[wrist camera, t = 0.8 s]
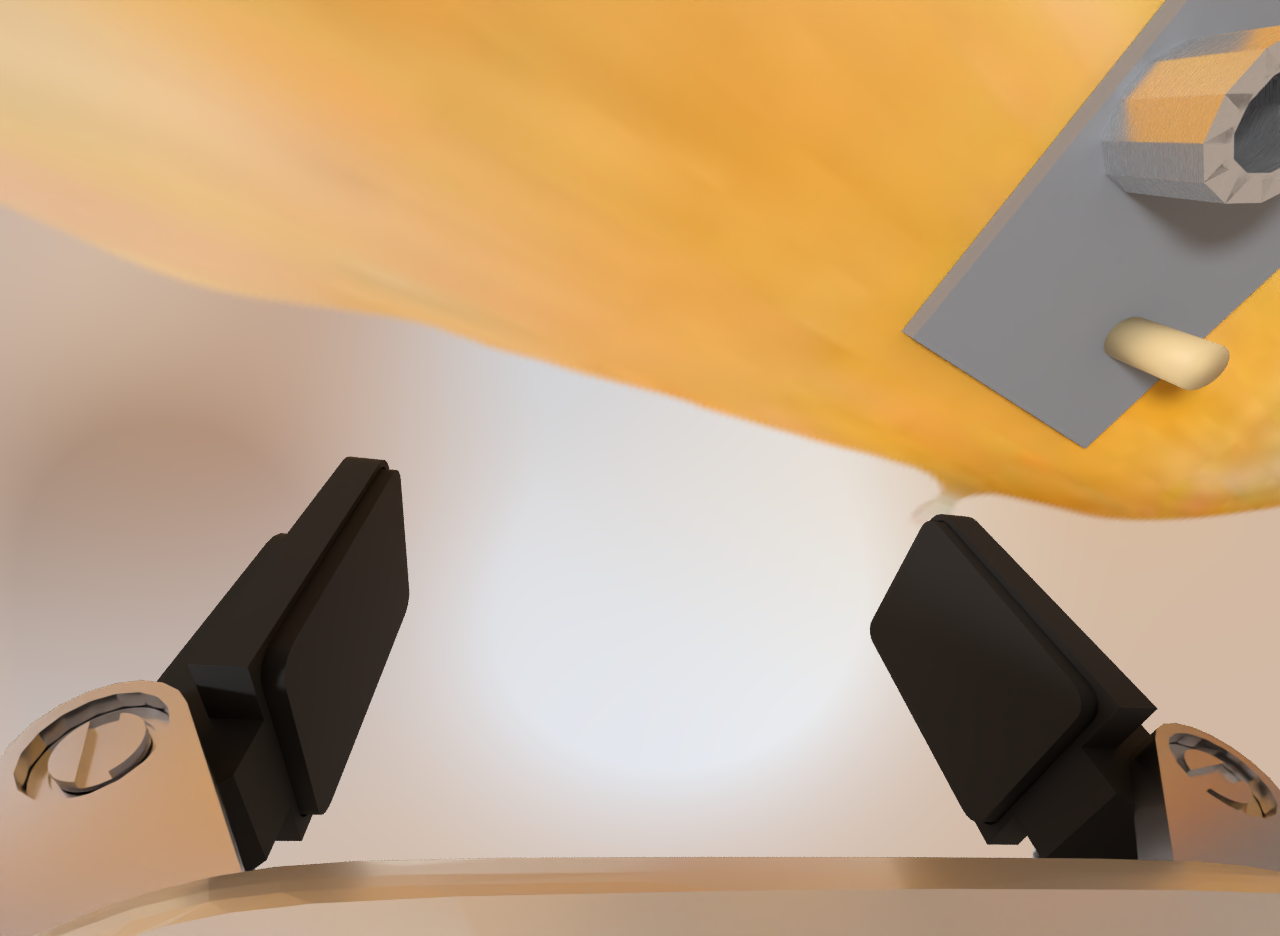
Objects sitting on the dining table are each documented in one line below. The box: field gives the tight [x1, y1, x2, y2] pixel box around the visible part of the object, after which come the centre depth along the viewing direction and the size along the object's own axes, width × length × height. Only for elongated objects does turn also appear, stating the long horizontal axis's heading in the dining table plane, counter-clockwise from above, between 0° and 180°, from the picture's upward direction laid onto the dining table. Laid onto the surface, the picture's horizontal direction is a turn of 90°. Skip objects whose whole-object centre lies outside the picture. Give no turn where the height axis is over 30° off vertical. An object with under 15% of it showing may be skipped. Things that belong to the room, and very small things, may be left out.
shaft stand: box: [902, 0, 1280, 448], centre depth 32 cm, size 22×18×7 cm
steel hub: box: [1102, 25, 1280, 204], centre depth 28 cm, size 7×7×6 cm
